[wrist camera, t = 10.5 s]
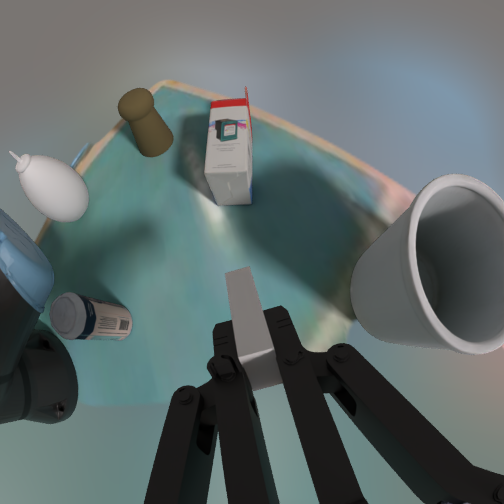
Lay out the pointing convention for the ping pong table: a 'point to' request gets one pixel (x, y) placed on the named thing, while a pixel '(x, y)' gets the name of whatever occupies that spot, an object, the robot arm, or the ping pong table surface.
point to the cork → (145, 122)
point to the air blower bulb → (52, 187)
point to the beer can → (89, 318)
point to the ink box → (230, 152)
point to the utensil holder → (437, 271)
